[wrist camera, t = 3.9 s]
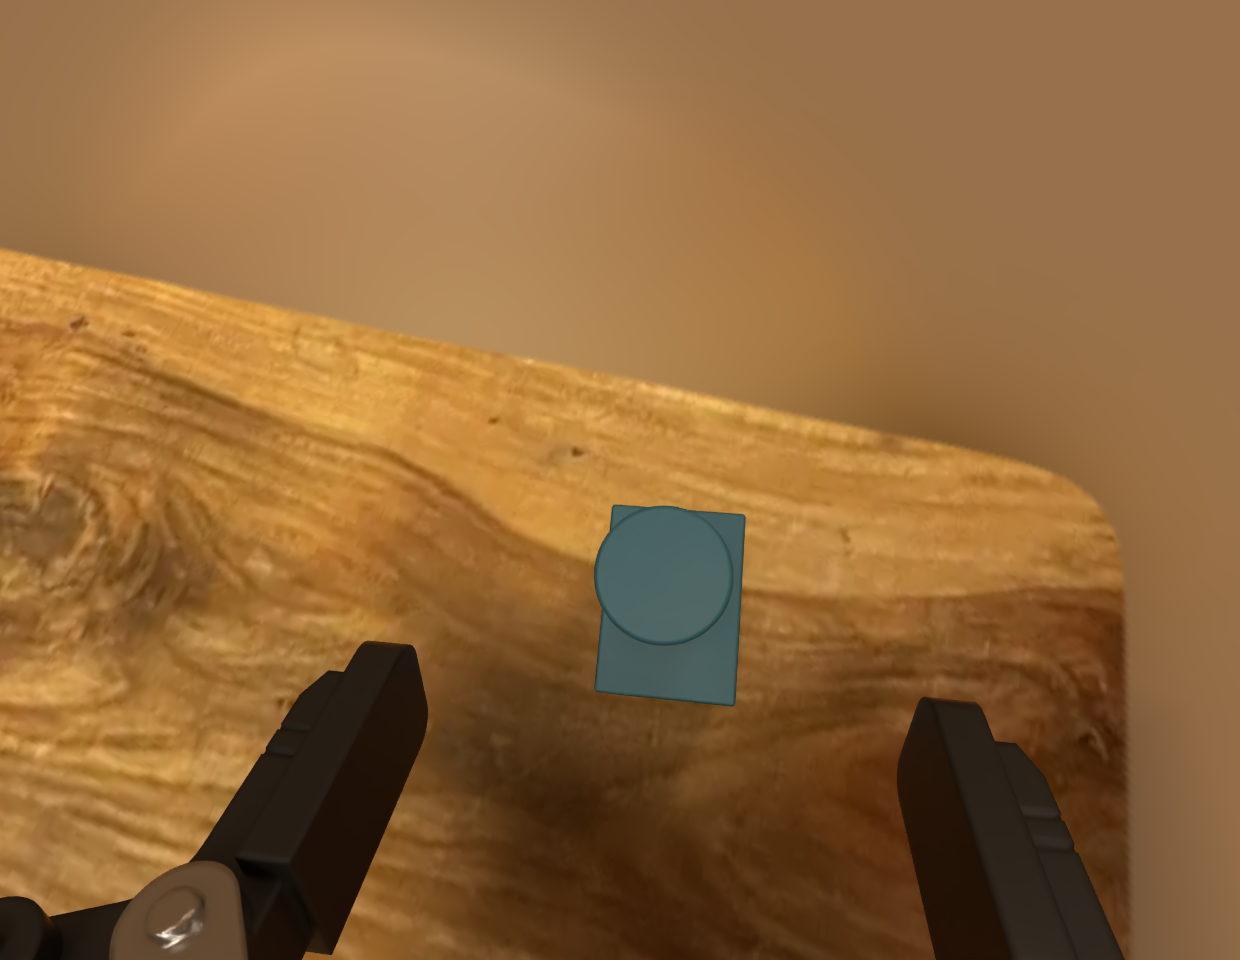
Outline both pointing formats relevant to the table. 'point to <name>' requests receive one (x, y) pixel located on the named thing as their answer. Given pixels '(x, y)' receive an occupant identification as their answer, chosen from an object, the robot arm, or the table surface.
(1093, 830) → the table surface
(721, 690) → the teal peg on base
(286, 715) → the robot arm
